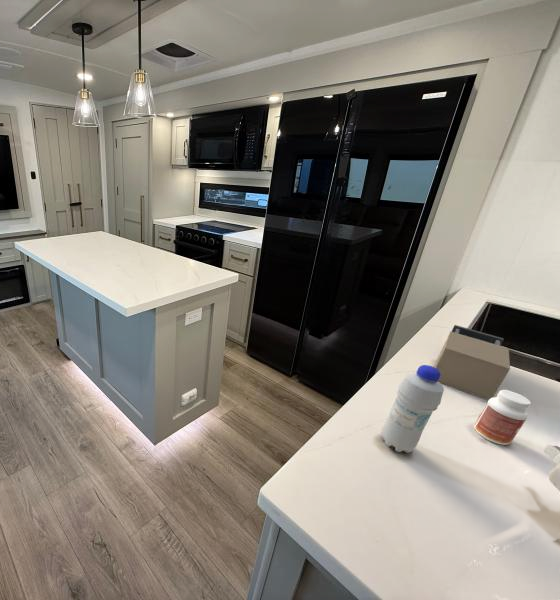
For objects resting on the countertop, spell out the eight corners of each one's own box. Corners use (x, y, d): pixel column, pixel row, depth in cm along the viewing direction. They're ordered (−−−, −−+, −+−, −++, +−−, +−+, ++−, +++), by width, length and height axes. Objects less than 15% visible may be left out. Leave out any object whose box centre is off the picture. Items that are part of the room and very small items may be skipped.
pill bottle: (515, 450, 67) (542, 411, 63) (477, 438, 70) (501, 399, 65) (503, 431, 72) (528, 393, 68) (469, 420, 75) (490, 383, 70)
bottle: (370, 434, 69) (401, 360, 61) (391, 428, 71) (425, 356, 63) (399, 460, 63) (438, 381, 55) (422, 452, 65) (463, 375, 57)
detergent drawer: (444, 343, 108) (455, 320, 104) (490, 357, 100) (503, 333, 97) (438, 362, 96) (450, 338, 93) (489, 380, 89) (504, 354, 85)
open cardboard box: (436, 359, 99) (450, 331, 95) (490, 378, 91) (508, 348, 87) (430, 378, 90) (445, 347, 85) (490, 401, 82) (510, 368, 77)
